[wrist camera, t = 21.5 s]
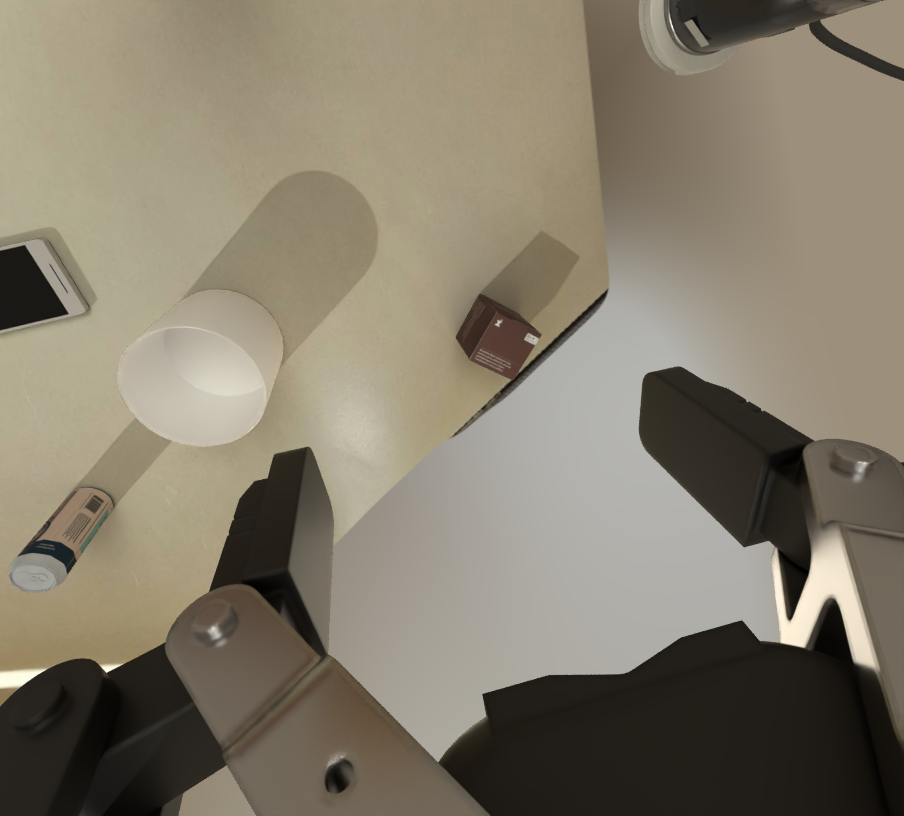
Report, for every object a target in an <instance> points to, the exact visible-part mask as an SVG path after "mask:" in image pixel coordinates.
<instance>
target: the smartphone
mask: <svg viewBox="0 0 904 816" xmlns="http://www.w3.org/2000/svg"><path fill="white" fill-rule="evenodd" d="M88 310H89V307H88V305H87V303H86V302H85V300H84V298H83V297H82V295H81V294H80V292H79V290H78V289H77V287H76V285H75V284H74V282H73V280H72V279H71V277H70V276H69V274H68V272H67V271H66V269H65V267H64V266H63V264H62V263H61V261H60V259H59V258H58V256H57V254H56V253H55V251H54V250H53V248H52V246H51V245H50V243H49V241H48V240H47V239H44V238H39V239H34V240H30V241H25V242H21V243H16V244H12V245H7V246H3V247H0V333H4V332H8V331H12V330H17V329H21V328H25V327H29V326H33V325H38V324H42V323H46V322H50V321H54V320H59V319H63V318H67V317H71V316H75V315H80V314H83V313H84V312H86V311H88Z"/></svg>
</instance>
